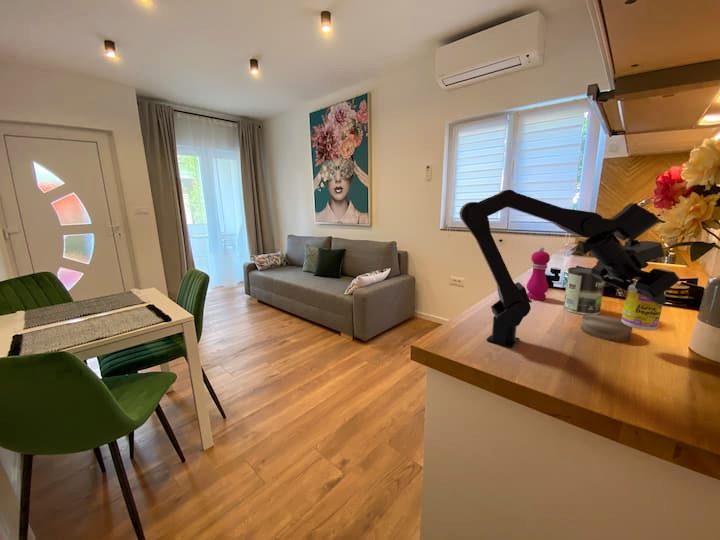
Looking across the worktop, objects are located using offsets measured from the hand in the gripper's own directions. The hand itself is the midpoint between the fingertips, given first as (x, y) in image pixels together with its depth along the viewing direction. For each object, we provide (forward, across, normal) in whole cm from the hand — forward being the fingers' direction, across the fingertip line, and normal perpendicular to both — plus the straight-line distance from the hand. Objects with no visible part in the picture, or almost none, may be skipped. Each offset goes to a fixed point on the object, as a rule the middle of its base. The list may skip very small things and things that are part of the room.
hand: (650, 298), depth 72 cm
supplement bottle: (+4, 0, +6) cm, 7 cm away
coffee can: (+12, +28, +7) cm, 31 cm away
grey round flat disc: (+8, +9, +11) cm, 17 cm away
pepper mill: (+6, +41, +13) cm, 43 cm away
